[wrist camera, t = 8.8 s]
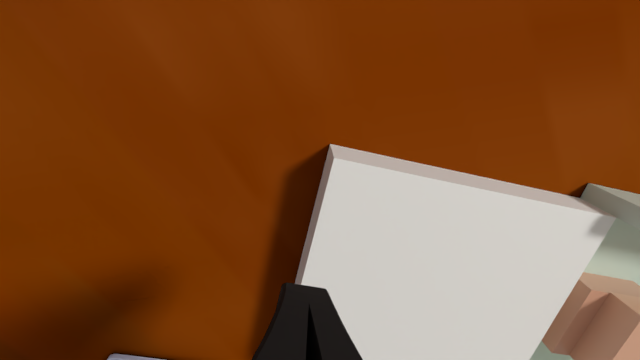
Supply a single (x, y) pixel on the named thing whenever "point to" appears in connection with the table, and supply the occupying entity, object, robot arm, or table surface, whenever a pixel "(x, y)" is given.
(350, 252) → the board
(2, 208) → the table surface
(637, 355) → the tile
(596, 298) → the tile
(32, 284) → the table surface
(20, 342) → the table surface
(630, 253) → the box
